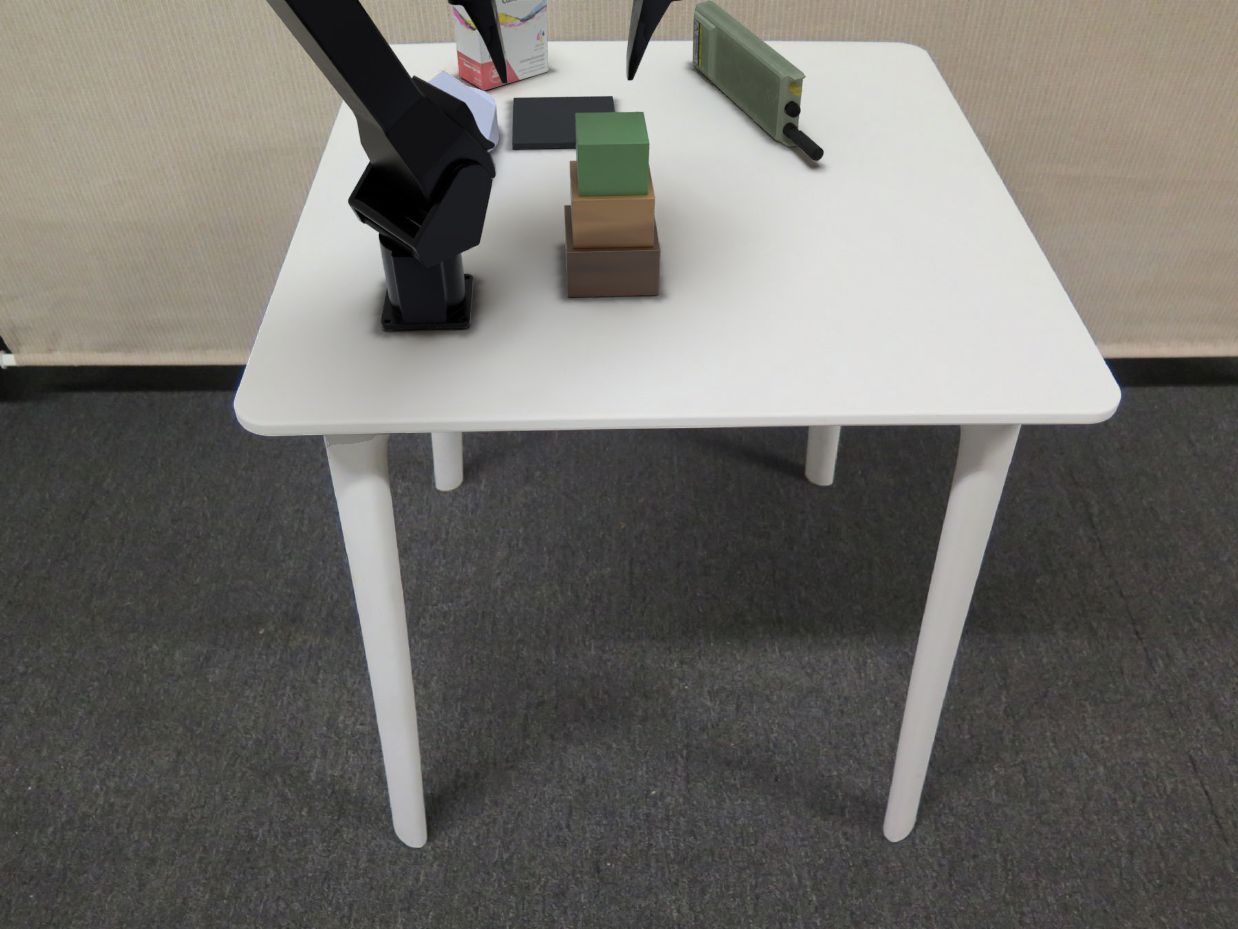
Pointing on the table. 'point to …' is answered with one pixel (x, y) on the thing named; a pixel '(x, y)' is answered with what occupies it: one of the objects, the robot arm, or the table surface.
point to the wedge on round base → (472, 104)
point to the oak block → (611, 218)
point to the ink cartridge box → (522, 39)
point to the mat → (552, 119)
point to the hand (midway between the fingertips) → (567, 79)
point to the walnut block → (611, 268)
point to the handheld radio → (751, 75)
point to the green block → (612, 153)
